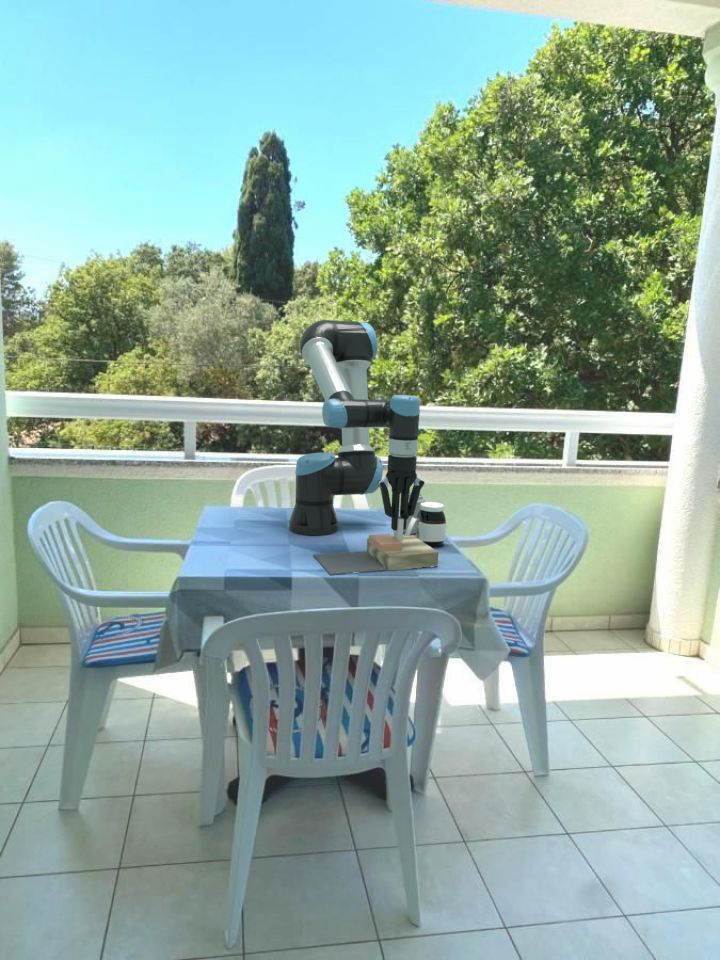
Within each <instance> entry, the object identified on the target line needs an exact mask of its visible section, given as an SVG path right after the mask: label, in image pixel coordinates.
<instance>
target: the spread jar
mask: <svg viewBox="0 0 720 960" xmlns="http://www.w3.org/2000/svg"><path fill="white" fill-rule="evenodd" d="M420 509H421V510H420V511H419V512H418V514H417V519H415V518H412V519H411V521H410V523H409V526H408V528H407V530H406V533H404V534H403V536H412V534H411V533H412V531H413V528H414V526H415V524H416V521H417V524H416V534H415V537H416V538H418V539H419V540H421V541H422V542H424V543H425V544H427V545H428V546H430V547H439V546H441V545H443V544H444V542H445V538H446V528H447V522H446V521H447V519H446V515H445V512H444V509H445V505H444V504H443V503H441V502H435V501H425V502H423V503H421V506H420ZM438 545H439V546H438Z"/></svg>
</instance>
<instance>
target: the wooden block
mask: <svg viewBox="0 0 720 960" xmlns="http://www.w3.org/2000/svg"><path fill="white" fill-rule="evenodd" d="M366 541H367V542H366V552H367V553H368V554H369V555H370V556H371V557H373V558H374V559H375V560H376V561H377V562H378V563H380V564H381V565H382V566H384V567H385V569H387V570H386V571H388V572H390V571H389V570H392V571H402V570H403V571H404V570H413V569H412V568H417V569H423V568H422V567H429V568H432V567H431V566H439V565H438V564H439V551H438V550H436V549H434V548H433V547H432V546H428V545H427V544H425V543H424V542H422V541H421V540H419V539H418V538H416V535H410V536H404V535H403V542H402V543H403V545H402V551H388V552H380V551H379V550H378V549H377V548H375V547H374V546H373V545H372V544H370V543H369V537H367V539H366Z"/></svg>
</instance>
